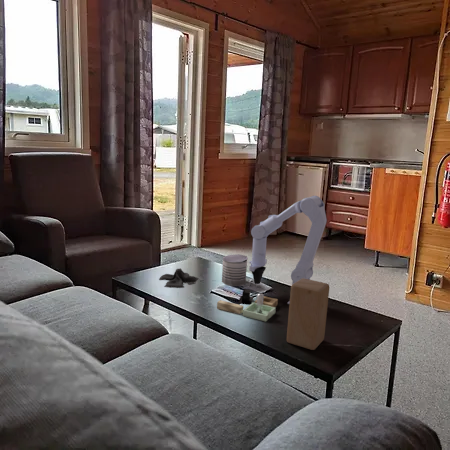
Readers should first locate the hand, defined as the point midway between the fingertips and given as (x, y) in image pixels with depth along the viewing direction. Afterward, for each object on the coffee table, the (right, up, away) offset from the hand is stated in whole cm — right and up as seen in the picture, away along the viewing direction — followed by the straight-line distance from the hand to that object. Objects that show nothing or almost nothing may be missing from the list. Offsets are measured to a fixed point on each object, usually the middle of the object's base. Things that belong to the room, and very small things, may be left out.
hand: (257, 283), depth 180 cm
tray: (-1, -9, -22) cm, 24 cm away
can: (-10, -1, +13) cm, 17 cm away
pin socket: (+3, -7, -13) cm, 15 cm away
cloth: (-34, -1, +12) cm, 36 cm away
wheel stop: (-12, -8, -20) cm, 24 cm away
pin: (-1, -8, -22) cm, 24 cm away
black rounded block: (-5, -7, -8) cm, 12 cm away
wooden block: (+13, -14, -42) cm, 46 cm away
